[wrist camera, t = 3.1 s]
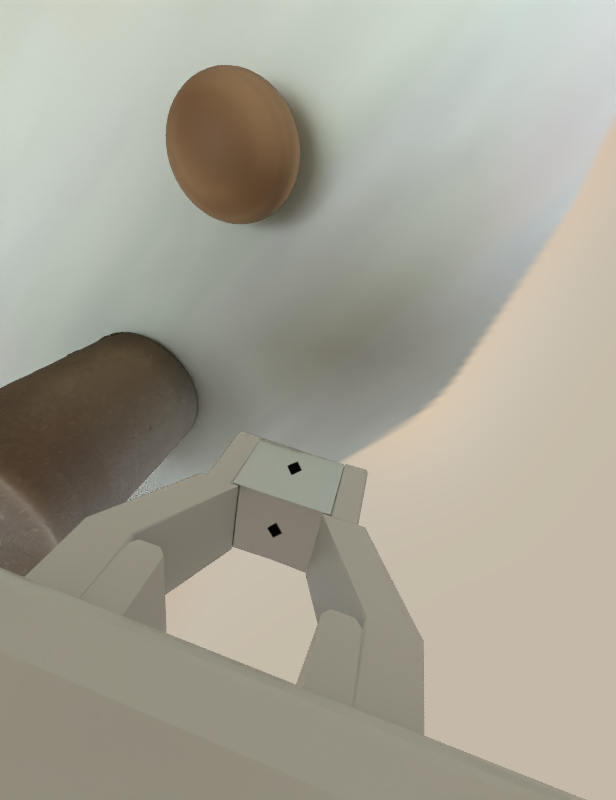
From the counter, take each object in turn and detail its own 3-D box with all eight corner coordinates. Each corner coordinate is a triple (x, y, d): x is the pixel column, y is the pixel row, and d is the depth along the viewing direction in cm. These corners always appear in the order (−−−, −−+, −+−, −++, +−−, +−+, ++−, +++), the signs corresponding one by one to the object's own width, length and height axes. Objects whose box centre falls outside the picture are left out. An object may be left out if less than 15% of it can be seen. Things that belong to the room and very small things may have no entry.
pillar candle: (67, 339, 29) (-203, 459, 16) (174, 323, 26) (-56, 456, 13) (121, 443, 33) (-61, 601, 21) (217, 440, 30) (75, 624, 18)
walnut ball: (256, 243, 22) (209, 258, 17) (184, 150, 21) (109, 137, 15) (336, 164, 19) (309, 154, 14) (259, 50, 18) (197, -7, 13)
